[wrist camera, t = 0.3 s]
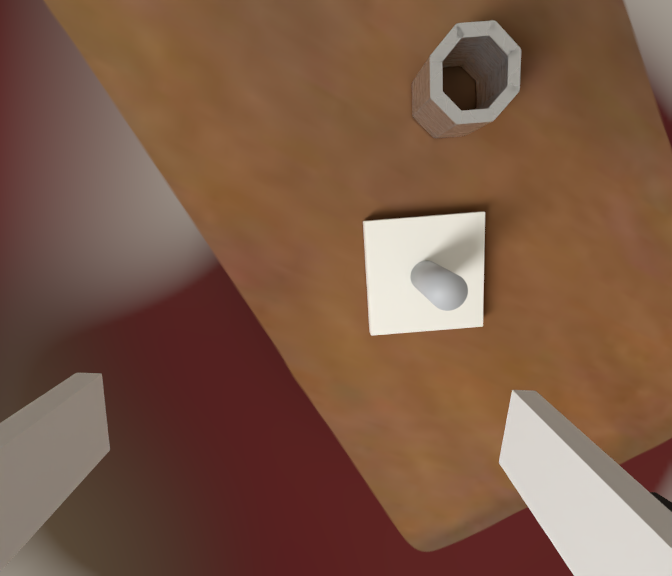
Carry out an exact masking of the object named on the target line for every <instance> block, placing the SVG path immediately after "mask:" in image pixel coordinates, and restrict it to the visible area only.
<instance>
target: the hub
mask: <svg viewBox="0 0 672 576" xmlns="http://www.w3.org/2000/svg"><path fill="white" fill-rule="evenodd" d="M520 49H521V48H520V47H519V46H518V45H517V44H516V43H515V42H514V40H513V39H512V38H511V37H510V36H509V35H508V34H507V33H506V32H505V31H504V29H503V28H502V27H501V26H500V25H499V24H498V23H497V22H496V21H495V20H493V21H480V22H467V23H457V24H456V25H455V26H454V27H453V28H452V30H451V31H450V32H449V33H448V34H447V36H446V37H445V38H444V39H443V41H442V42H441V43H440V44H439V45H438V47H437V48H436V49H435V50H434V52H433V53H432V54H431V55H430V57H429V58H428V60H427V61H426V63H425V64H424V66H423V67H422V69H421V70H420V71H419V73H418V74H417V76H416V77H415V79H414V80H413V82H412V113H413V116H414V117H413V118H414V119H415V120H416V121H417V122H418V123H419V124H420V125H421V126H422V127H423V128H424V129H425V130H426V131H427V132H428V133H430V134H431V135H432V136H433V137H434V138H447V137H459V136H465V135H467V134H469V133H471V132H473V131H475V130H477V129H479V128H481V127H483V126H485V125H487V124H489V123H491V122H492V121H494V120H495V118H496V117H497V116H498V115H499V114H500V113H501V112H502V111H503V109H504V108H505V107H506V106H507V105H508V104H509V103H510V101H511V100H512V99H513V98H514V97H515V96H516V95H517V94H518V92H519V91H520V70H521V50H520ZM455 66H461V67H462V68H463V69H464V70H465V71H466V72H467V73H468V74H469V75H470V76H471V77H472V78H473V79H474V80H475V81H476V82H477V98H476V108H475V109H474V110H464V111H461V110H460V109H459V108H458V107H457V106H456V105H455V104H454V102H453V101H452V100H451V99H450V98H449V97H448V96H447V95H446V94H445V93H444V92H443V71H442V67H455Z"/></svg>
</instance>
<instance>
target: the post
mask: <svg viewBox="0 0 672 576" xmlns="http://www.w3.org/2000/svg"><path fill="white" fill-rule="evenodd" d="M363 230H364V247H365V264H366V281H367V298H368V315H369V331H370V334H371V335H383V334H395V333H407V332H420V331H432V330H445V329H457V328H469V327H482V326H483V295H484V246H485V212H468V213H456V214H443V215H430V216H418V217H405V218H393V219H380V220H368V221H363Z"/></svg>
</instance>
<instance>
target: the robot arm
mask: <svg viewBox="0 0 672 576" xmlns="http://www.w3.org/2000/svg"><path fill="white" fill-rule="evenodd" d="M109 450H110V448H109V438H108V428H107V420H106V410H105V400H104V392H103V382H102V374H95V373H76V374H74V375H73V376H71V377H70V378H68V379H66V380H65V381H63V382H62V383H61V384H59V385H57V386H56V387H54V388H53V389H51V390H50V391H48V392H47V393H45V394H44V395H42V396H41V397H40V398H38V399H36V400H35V401H33V402H32V403H30V404H29V405H27V406H26V407H24V408H23V409H21V410H19V411H18V412H16V413H15V414H13V415H12V416H10V417H9V418H7V419H6V420H5V421H3V422H1V423H0V571H1V570H2V569H3V568H4V567H5V566H6V565H7V564H8V562H10V560H11V559H12V558H13V557H14V556H15V555H16V554H17V552H19V550H20V549H21V548H22V547H23V546H24V545H25V544H26V543H27V541H28V540H29V539H30V538H31V537H32V536H33V535H34V534H35V533H36V531H37V530H38V529H39V528H40V527H41V526H42V525H43V523H45V521H46V520H47V519H48V518H49V517H50V516H51V515H52V514H53V513H54V511H55V510H56V509H57V508H58V507H59V506H60V505H61V504H62V503H63V501H64V500H65V499H66V498H67V497H68V496H69V495H70V494H71V493H72V491H73V490H74V489H75V488H76V487H77V486H78V485H79V484H80V483H81V481H82V480H83V479H84V478H85V477H86V476H87V475H88V474H89V473H90V471H91V470H92V469H93V468H94V467H95V466H96V465H97V463H99V461H100V460H101V459H102V458H103V457H104V456H105V455H106V454H107V453H108V451H109ZM499 464H500V465H501V467H502V468H503V470H504V471H505V473H506V474H507V476H508V477H509V479H510V480H511V482H512V483H513V485H514V486H515V488H516V489H517V491H518V492H519V494H520V495H521V497H522V498H523V500H524V501H525V503H526V504H527V506H528V507H529V509H530V510H531V512H532V513H533V515H534V516H535V518H536V519H537V521H538V522H539V524H540V525H541V527H542V528H543V529H544V531H545V532H546V534H547V536H548V537H549V538H550V540H551V542H552V543H553V545H554V546H555V548H556V549H557V551H558V552H559V554H560V555H561V557H562V558H563V560H564V561H565V562H566V564H567V566H568V567H569V569H570V570H571V572H572V573H573V575H574V576H672V502H670V501H668V500H667V499H665V498H664V497H662V496H660V495H659V494H657V493H655V492H654V493H653V492H648V491H647V490H646V489H645V488H644V487H643V486H642V485H641V484H640V483H638V482H637V481H636V480H635V479H634V478H633V477H631V476H630V475H629V474H628V473H627V472H626V471H625V470H624V469H623V468H622V467H620V466H619V465H618V464H617V463H616V462H615V461H614V460H613V459H611V458H610V457H609V456H608V455H607V454H606V453H605V452H604V451H602V450H601V449H600V448H599V447H598V446H597V445H596V444H595V443H593V442H592V441H591V440H590V439H589V438H588V437H587V436H586V435H584V434H583V433H582V432H581V431H580V430H579V429H578V428H577V427H575V426H574V425H573V424H572V423H571V422H570V421H569V420H568V419H566V418H565V417H564V416H563V415H562V414H561V413H560V412H559V411H557V410H556V409H555V408H554V407H553V406H552V405H551V404H550V403H548V402H547V401H546V400H545V399H544V398H543V397H542V396H541V395H539V394H538V393H537V392H536V391H527V390H512V394H511V400H510V405H509V411H508V416H507V421H506V427H505V432H504V437H503V443H502V448H501V453H500V459H499Z"/></svg>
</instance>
